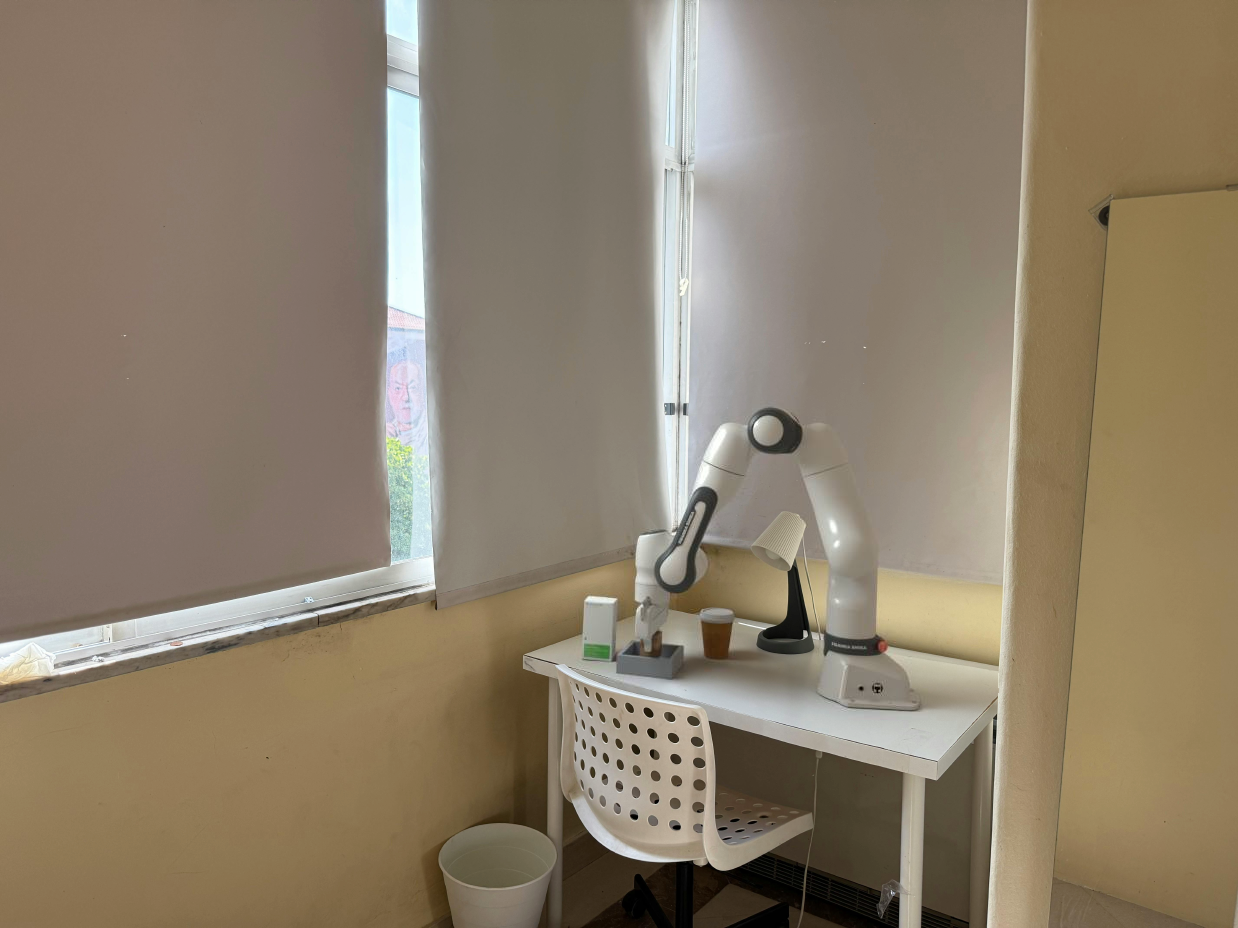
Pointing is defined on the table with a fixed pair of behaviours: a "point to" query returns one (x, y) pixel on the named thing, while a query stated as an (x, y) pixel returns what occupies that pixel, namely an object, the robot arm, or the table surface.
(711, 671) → the table surface
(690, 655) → the table surface
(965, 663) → the table surface
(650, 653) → the walnut block
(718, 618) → the disposable coffee cup
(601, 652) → the skincare box
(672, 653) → the tray
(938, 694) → the table surface
